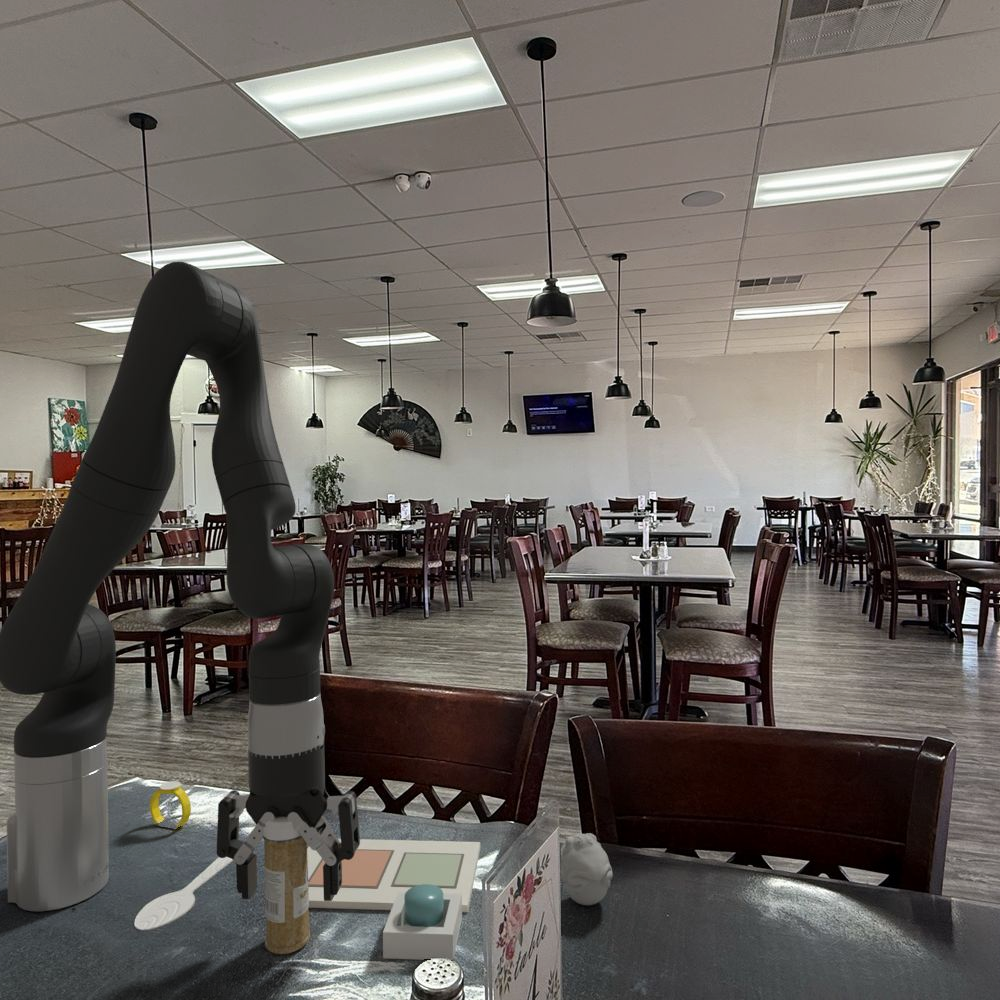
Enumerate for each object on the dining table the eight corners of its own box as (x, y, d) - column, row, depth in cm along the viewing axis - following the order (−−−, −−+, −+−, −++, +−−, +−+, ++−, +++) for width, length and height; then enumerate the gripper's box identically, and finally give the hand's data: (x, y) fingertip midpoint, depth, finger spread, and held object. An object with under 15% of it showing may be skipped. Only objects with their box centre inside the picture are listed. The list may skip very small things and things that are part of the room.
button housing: (383, 958, 69) (382, 932, 69) (398, 915, 76) (398, 892, 76) (453, 960, 69) (452, 934, 69) (462, 917, 76) (461, 894, 76)
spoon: (258, 851, 91) (258, 847, 91) (162, 936, 74) (162, 931, 74) (222, 847, 92) (222, 843, 92) (119, 930, 75) (119, 925, 75)
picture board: (272, 906, 78) (272, 898, 78) (314, 844, 92) (314, 837, 92) (467, 912, 77) (467, 904, 77) (480, 848, 91) (480, 841, 91)
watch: (194, 826, 98) (196, 785, 98) (179, 836, 96) (181, 793, 95) (160, 818, 100) (161, 777, 100) (144, 827, 97) (146, 785, 97)
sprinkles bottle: (316, 945, 71) (314, 814, 71) (271, 962, 69) (269, 826, 69) (302, 923, 75) (300, 798, 75) (258, 938, 73) (257, 809, 73)
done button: (401, 927, 71) (400, 905, 71) (409, 904, 75) (408, 883, 75) (440, 928, 70) (439, 906, 70) (446, 905, 74) (445, 884, 74)
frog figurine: (596, 879, 83) (595, 820, 83) (624, 912, 76) (623, 849, 76) (548, 888, 81) (548, 829, 81) (573, 923, 74) (572, 858, 74)
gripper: (201, 752, 69) (205, 916, 69) (343, 752, 68) (347, 919, 68) (235, 727, 76) (238, 875, 76) (363, 727, 75) (367, 877, 75)
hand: (290, 896), depth 72 cm, fingers open, 8 cm apart
